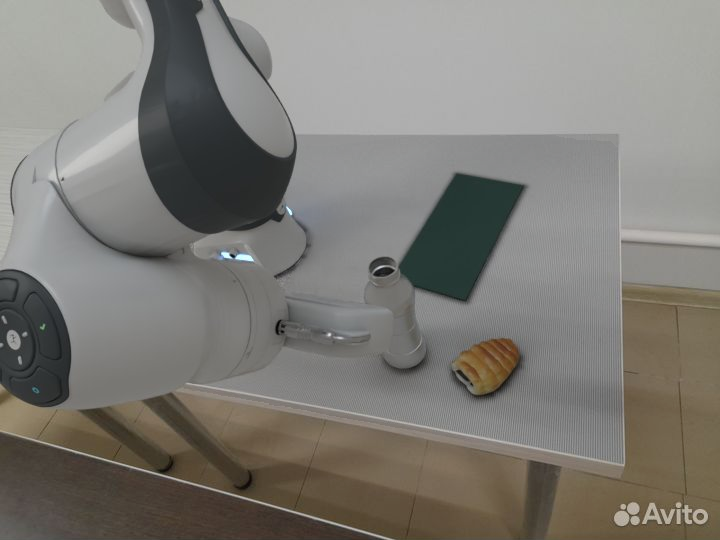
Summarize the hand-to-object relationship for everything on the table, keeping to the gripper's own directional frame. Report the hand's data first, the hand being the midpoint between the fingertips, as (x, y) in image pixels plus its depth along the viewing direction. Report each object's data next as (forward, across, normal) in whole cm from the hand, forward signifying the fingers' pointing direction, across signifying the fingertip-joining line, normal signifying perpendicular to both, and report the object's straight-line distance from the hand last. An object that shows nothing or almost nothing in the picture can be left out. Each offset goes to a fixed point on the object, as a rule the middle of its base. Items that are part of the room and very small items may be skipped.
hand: (321, 309), depth 52 cm
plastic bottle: (+27, +1, +8) cm, 29 cm away
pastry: (+29, -11, +8) cm, 32 cm away
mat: (+44, 0, -12) cm, 46 cm away
